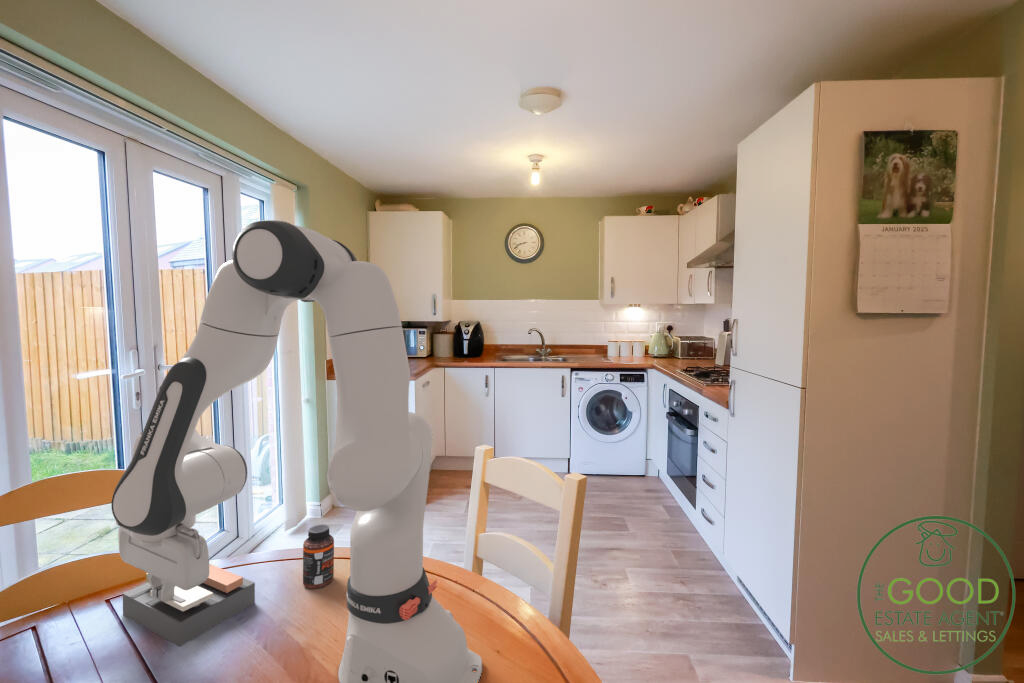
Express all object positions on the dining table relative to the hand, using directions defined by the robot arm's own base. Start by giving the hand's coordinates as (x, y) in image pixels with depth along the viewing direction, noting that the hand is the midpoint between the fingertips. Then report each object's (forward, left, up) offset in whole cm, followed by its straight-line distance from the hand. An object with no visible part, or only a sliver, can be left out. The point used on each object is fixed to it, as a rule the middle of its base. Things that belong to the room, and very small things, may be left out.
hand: (163, 597), depth 76 cm
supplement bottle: (-11, -23, -7) cm, 26 cm away
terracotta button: (-1, -9, -2) cm, 9 cm away
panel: (+3, -6, -6) cm, 9 cm away
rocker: (-1, -3, -1) cm, 3 cm away
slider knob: (+9, -3, -2) cm, 10 cm away
